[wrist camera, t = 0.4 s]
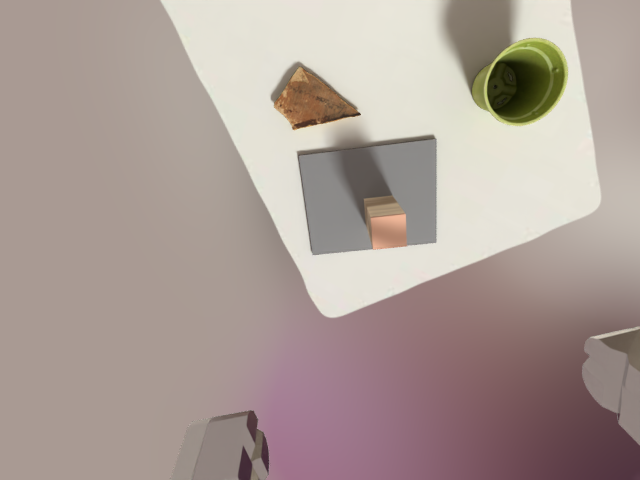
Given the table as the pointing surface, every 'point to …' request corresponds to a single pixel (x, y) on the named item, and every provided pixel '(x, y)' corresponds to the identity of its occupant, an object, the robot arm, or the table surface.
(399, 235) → the birch block
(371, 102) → the table surface
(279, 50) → the table surface
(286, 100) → the shard
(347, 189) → the rubber mat
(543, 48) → the plant pot
